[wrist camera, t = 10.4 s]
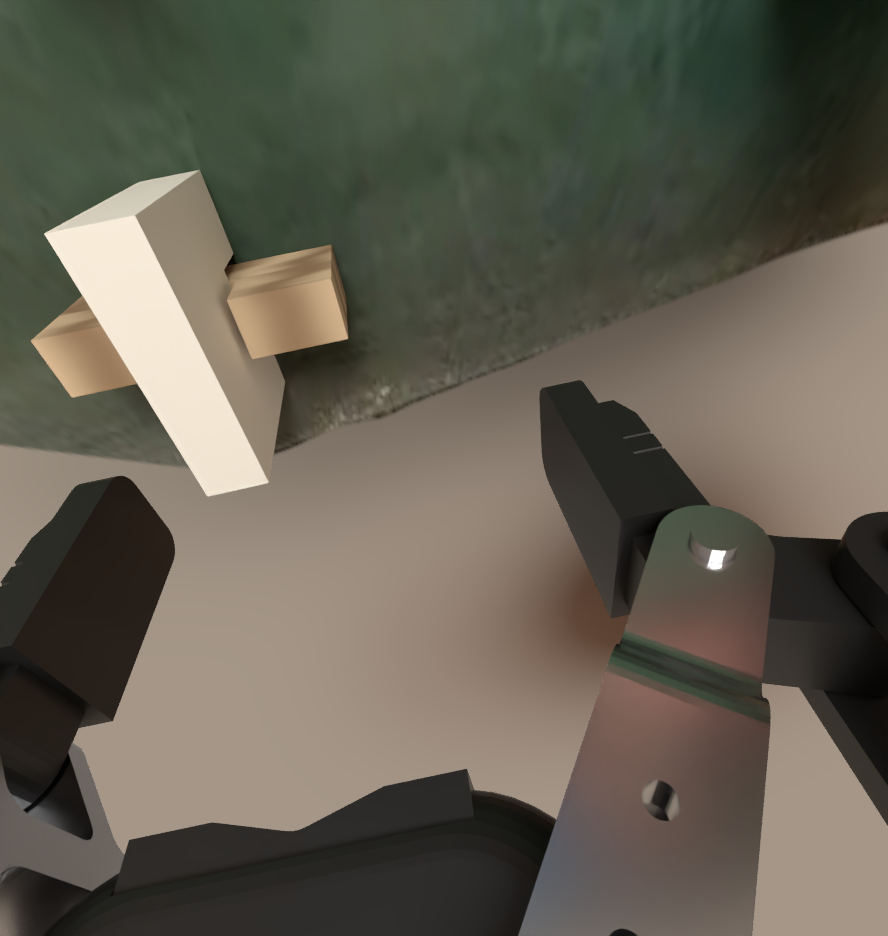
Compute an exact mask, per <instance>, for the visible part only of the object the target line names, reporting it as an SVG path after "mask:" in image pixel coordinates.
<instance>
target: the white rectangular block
mask: <svg viewBox="0 0 888 936" xmlns="http://www.w3.org/2000/svg"><path fill="white" fill-rule="evenodd" d="M44 234H45V236H46V237H47V239H48V241H49V242H50V244H51V246H52V247H53V249H54V250H55V252H56V254H57V255H58V257H59V258H60V260H61V262H62V263H63V265H64V266H65V268H66V270H67V271H68V273H69V274H70V276H71V278H72V279H73V281H74V283H75V284H76V286H77V287H78V289H79V291H80V292H81V294H82V295H83V297H84V299H85V300H86V302H87V303H88V305H89V307H90V308H91V310H92V311H93V313H94V315H95V316H96V318H97V320H98V321H99V323H100V324H101V326H102V328H103V329H104V331H105V332H106V334H107V336H108V337H109V339H110V340H111V342H112V344H113V345H114V347H115V348H116V350H117V352H118V353H119V355H120V357H121V358H122V360H123V361H124V363H125V365H126V366H127V368H128V369H129V371H130V373H131V374H132V376H133V377H134V379H135V381H136V382H137V384H138V385H139V387H140V389H141V390H142V392H143V394H144V395H145V397H146V398H147V400H148V402H149V403H150V405H151V406H152V408H153V410H154V411H155V413H156V414H157V416H158V418H159V419H160V421H161V422H162V424H163V426H164V427H165V429H166V431H167V432H168V434H169V435H170V437H171V439H172V440H173V442H174V443H175V445H176V447H177V448H178V450H179V451H180V453H181V455H182V456H183V458H184V459H185V461H186V463H187V464H188V466H189V468H190V469H191V471H192V472H193V474H194V476H195V477H196V479H197V480H198V482H199V484H200V485H201V487H202V488H203V490H204V491H205V493H206V495H207V496H213V495H217V494H222V493H226V492H230V491H235V490H239V489H244V488H248V487H253V486H257V485H261V484H266V483H269V479H270V473H271V467H272V461H273V455H274V449H275V442H276V436H277V430H278V424H279V417H280V411H281V405H282V399H283V392H284V386H285V380H284V378H283V375H282V373H281V370H280V368H279V365H278V363H277V360H276V358H275V355H270V356H266V357H261V358H256V359H252V358H251V355H250V353H249V351H248V349H247V346H246V344H245V342H244V339H243V337H242V335H241V332H240V330H239V328H238V325H237V323H236V321H235V318H234V316H233V314H232V312H231V309H230V307H229V305H228V302H227V299H228V297H229V294H230V292H231V290H232V288H231V285H230V283H229V281H228V278H227V276H226V274H225V271H224V269H225V268H226V266H227V264H228V262H229V261H230V259H231V257H232V255H233V254H234V253H233V251H232V248H231V246H230V244H229V241H228V239H227V236H226V234H225V231H224V229H223V226H222V224H221V221H220V219H219V216H218V214H217V211H216V209H215V206H214V204H213V201H212V199H211V196H210V194H209V191H208V189H207V186H206V184H205V181H204V179H203V177H202V174H201V172H200V170H197V171H192V172H187V173H182V174H177V175H172V176H167V177H162V178H157V179H152V180H147V181H142V182H138V183H136V184H134V185H133V186H131V187H129V188H127V189H125V190H123V191H122V192H120V193H118V194H116V195H114V196H112V197H111V198H109V199H107V200H105V201H103V202H101V203H99V204H98V205H96V206H94V207H92V208H90V209H88V210H87V211H85V212H83V213H81V214H79V215H77V216H76V217H74V218H72V219H70V220H68V221H66V222H65V223H63V224H61V225H59V226H57V227H55V228H54V229H52V230H50V231H48V232H46V233H44Z"/></svg>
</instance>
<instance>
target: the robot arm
mask: <svg viewBox="0 0 888 936" xmlns="http://www.w3.org/2000/svg"><path fill="white" fill-rule="evenodd" d="M540 419H541V420H540V421H541V445H542V458H543V464H544V469H545V472H546V476H547V479H548V481H549V484H550V486H551V488H552V490H553V493H554V495H555V497H556V499H557V501H558V504H559V506H560V508H561V510H562V512H563V515H564V517H565V519H566V521H567V523H568V526H569V528H570V530H571V532H572V534H573V536H574V539H575V540H576V543H577V545H578V547H579V550H580V552H581V554H582V556H583V558H584V560H585V562H586V565H587V567H588V569H589V571H590V573H591V576H592V578H593V580H594V582H595V585H596V586H597V589H598V591H599V593H600V595H601V597H602V600H603V602H604V604H605V606H606V608H607V611H608V613H609V615H610V617H611V618H614V617H619V616H623V615H628V614H630V616H629V618H628V622H627V625H626V628H625V631H624V634H623V637H622V640H621V642H620V644H616V646H615V648H614V650H613V652H612V654H611V657H610V660H609V662H608V666H607V668H606V671H605V674H604V677H603V680H602V683H601V686H600V689H599V693H598V695H597V698H596V702H595V704H594V708H593V711H592V714H591V717H590V720H589V723H588V726H587V729H586V732H585V735H584V738H583V741H582V744H581V747H580V750H579V753H578V756H577V759H576V762H575V765H574V768H573V771H572V774H571V778H570V780H569V784H568V787H567V789H566V792H565V795H564V799H563V802H562V805H561V808H560V811H559V814H558V817H557V820H556V819H555V818H553V817H551V816H550V815H548V814H546V813H545V812H543V811H541V810H540V809H538V808H536V807H534V806H532V805H530V804H527V803H525V802H523V801H520V800H518V799H516V798H513V797H509V796H505V795H501V794H497V793H494V792H486V791H477V790H474V788H473V785H472V782H471V779H470V776H469V773H468V771H467V769H464V770H459V771H455V772H450V773H445V774H440V775H435V776H431V777H426V778H421V779H417V780H412V781H407V782H402V783H398V784H393V785H388V786H384V787H382V788H380V789H378V790H376V791H374V792H372V793H370V794H368V795H366V796H365V797H363V798H361V799H359V800H357V801H355V802H353V803H351V804H349V805H347V806H345V807H344V808H342V809H340V810H338V811H336V812H334V813H332V814H330V815H328V816H326V817H324V818H322V819H321V820H319V821H317V822H315V823H313V824H311V825H309V826H307V827H305V828H303V829H300V830H297V831H279V830H271V829H263V828H254V827H245V826H236V825H229V824H220V823H208V824H203V825H199V826H194V827H189V828H184V829H179V830H175V831H170V832H165V833H161V834H156V835H151V836H146V837H142V838H137V839H132V840H129V843H128V846H127V849H126V853H125V855H124V854H123V853H122V851H121V850H120V849H119V847H118V846H117V844H116V842H115V840H114V838H113V835H112V832H111V830H110V827H109V824H108V821H107V818H106V815H105V812H104V809H103V807H102V804H101V801H100V798H99V795H98V792H97V789H96V786H95V783H94V780H93V778H92V775H91V772H90V769H89V766H88V764H87V760H86V757H85V755H84V752H83V751H82V749H81V748H80V747H79V746H78V745H76V744H74V743H73V740H74V737H75V735H76V732H77V730H78V728H81V727H86V726H91V725H96V724H100V723H105V722H110V721H113V719H114V716H115V714H116V711H117V708H118V706H119V703H120V701H121V698H122V695H123V692H124V690H125V687H126V685H127V682H128V679H129V677H130V674H131V671H132V669H133V666H134V664H135V661H136V658H137V655H138V653H139V650H140V648H141V645H142V642H143V640H144V637H145V634H146V632H147V629H148V626H149V624H150V621H151V619H152V616H153V613H154V611H155V608H156V605H157V603H158V600H159V598H160V595H161V592H162V590H163V587H164V584H165V581H166V579H167V576H168V574H169V571H170V568H171V566H172V563H173V560H174V555H175V547H174V546H175V545H174V540H173V537H172V534H171V532H170V530H169V529H168V527H167V526H166V525H165V524H164V522H163V521H162V519H161V518H160V517H159V516H158V514H157V513H156V511H155V510H154V509H153V507H152V506H151V505H150V503H149V502H148V501H147V499H146V498H145V497H144V495H143V494H142V493H141V492H140V490H139V489H138V488H137V486H136V485H135V484H134V483H133V481H131V480H130V479H129V478H127V477H125V476H116V477H111V478H107V479H102V480H97V481H92V482H88V483H83V484H79V485H77V486H76V487H75V488H74V489H73V490H72V491H71V493H70V494H69V496H68V497H67V499H66V500H65V501H64V503H63V504H62V506H61V507H60V509H59V510H58V512H57V513H56V515H55V516H54V518H53V519H52V520H51V521H50V522H49V523H48V524H47V525H46V526H45V527H44V528H43V529H41V530H40V531H39V532H38V533H37V534H36V535H35V536H34V537H33V538H31V540H30V541H29V543H28V544H27V546H26V547H25V548H24V550H23V551H22V553H21V554H20V555H19V557H18V558H17V560H16V561H15V564H16V566H15V567H11V568H10V570H9V571H8V573H7V574H6V576H5V577H4V578H3V580H2V581H1V583H2V586H1V587H0V936H752V931H753V920H754V907H755V896H756V886H757V874H758V863H759V862H758V861H759V851H760V839H761V827H762V817H763V806H764V795H765V782H766V771H767V760H768V749H769V738H770V718H771V717H770V705H769V701H768V700H767V699H766V698H763V696H762V683H766V684H774V685H783V686H792V687H799V688H800V689H801V691H802V693H803V694H804V696H805V697H806V699H807V700H808V702H809V704H810V705H811V707H812V708H813V710H814V711H815V713H816V714H817V716H818V718H819V719H820V721H821V722H822V724H823V725H824V727H825V729H826V730H827V732H828V733H829V735H830V736H831V738H832V739H833V741H834V743H835V744H836V746H837V747H838V749H839V750H840V752H841V753H842V755H843V757H844V758H845V760H846V761H847V763H848V764H849V766H850V768H851V769H852V771H853V772H854V773H855V775H856V777H857V779H858V780H859V782H860V783H861V785H862V786H863V788H864V789H865V791H866V792H867V794H868V796H869V797H870V799H871V800H872V802H873V803H874V805H875V806H876V808H877V809H878V811H879V813H880V814H881V816H882V818H883V819H884V821H885V822H886V824H887V825H888V512H877V513H871V514H866V515H864V516H861V517H859V518H857V519H856V520H854V521H853V522H852V523H851V524H850V525H849V526H848V528H847V530H846V532H845V534H844V535H843V537H842V540H837V539H816V538H796V537H780V536H772V535H767V534H766V533H765V532H764V530H763V529H762V528H761V527H759V526H758V525H757V524H756V523H755V522H753V521H751V520H750V519H749V518H747V517H745V516H743V515H741V514H739V513H737V512H734V511H732V510H728V509H725V508H721V507H715V506H711V505H710V504H709V503H708V502H707V500H706V499H705V498H704V497H703V495H702V494H701V493H700V492H699V490H698V489H697V488H696V487H695V486H694V484H693V483H692V482H691V480H690V479H689V478H688V477H687V476H686V474H685V473H684V472H683V470H682V469H681V468H680V467H679V466H678V464H677V463H676V462H675V461H674V459H673V458H672V457H671V456H670V454H669V453H668V452H667V451H666V449H662V445H661V443H660V442H659V441H658V439H657V438H656V437H655V436H654V434H651V433H650V430H649V428H648V427H647V426H646V424H645V423H644V422H643V421H642V420H641V418H640V417H639V416H638V415H637V413H635V412H634V411H632V410H630V409H628V408H627V407H625V406H623V405H621V404H619V403H617V402H616V401H614V400H612V401H607V402H602V403H598V402H597V401H596V399H595V398H594V397H593V395H592V394H591V392H590V391H589V390H588V388H587V387H586V386H585V384H584V383H583V382H582V381H580V380H579V381H574V382H569V383H564V384H559V385H555V386H550V387H545V388H542V389H541V391H540Z"/></svg>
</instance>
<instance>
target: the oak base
mask: <svg viewBox="0 0 888 936" xmlns="http://www.w3.org/2000/svg"><path fill="white" fill-rule="evenodd" d="M224 271H225V274H226V276H227V278H228V281H229V283H230V285H231V288H232V290H231V292H230V294H229V297H228V299H227V302H228V305H229V307H230V309H231V312H232V314H233V316H234V318H235V321H236V323H237V325H238V328H239V330H240V332H241V335H242V337H243V339H244V342H245V344H246V346H247V349H248V351H249V353H250V355H251V358H252V359H256V358H261V357H266V356H270V355H275V354H280V353H284V352H289V351H294V350H299V349H303V348H308V347H313V346H317V345H322V344H327V343H332V342H336V341H341V340H346V339H348V325H347V306H346V295H345V292H344V288H343V285H342V281H341V277H340V274H339V270H338V266H337V263H336V259H335V255H334V252H333V248H332V245H327V246H322V247H317V248H312V249H307V250H302V251H298V252H293V253H288V254H283V255H278V256H273V257H268V258H263V259H258V260H253V261H248V262H244V263H239V264H234V265H229V266H226V268H225V269H224ZM31 342H32V343H33V345H34V346H35V347H36V349H37V350H38V352H39V353H40V354H41V356H42V357H43V358H44V360H45V361H46V363H47V364H48V365H49V367H50V368H51V369H52V371H53V372H54V374H55V375H56V376H57V378H58V379H59V380H60V382H61V383H62V385H63V386H64V387H65V389H66V390H67V391H68V393H69V394H70V396H71V397H77V396H82V395H86V394H91V393H96V392H101V391H105V390H110V389H115V388H119V387H124V386H129V385H134V384H137V382H136V381H135V379H134V377H133V376H132V374H131V373H130V371H129V369H128V368H127V366H126V365H125V363H124V361H123V360H122V358H121V357H120V355H119V353H118V352H117V350H116V348H115V347H114V345H113V344H112V342H111V340H110V339H109V337H108V336H107V334H106V332H105V331H104V329H103V328H102V326H101V324H100V323H99V321H98V320H97V318H96V316H95V315H94V313H93V311H92V310H91V308H90V307H89V305H88V303H87V302H86V300H85V299H84V297H83V296H82V297H80V298H79V299H78V300H77V301H76V302H75V303H73V304H72V305H71V306H70V307H69V308H68V309H67V310H65V311H64V312H63V313H62V314H61V315H60V316H59V317H57V318H56V319H55V320H54V321H53V322H52V323H51V324H49V325H48V326H47V327H46V328H45V329H44V330H43V331H41V332H40V333H39V334H38V335H37V336H36V337H35V338H33V339H32V340H31Z"/></svg>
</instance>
